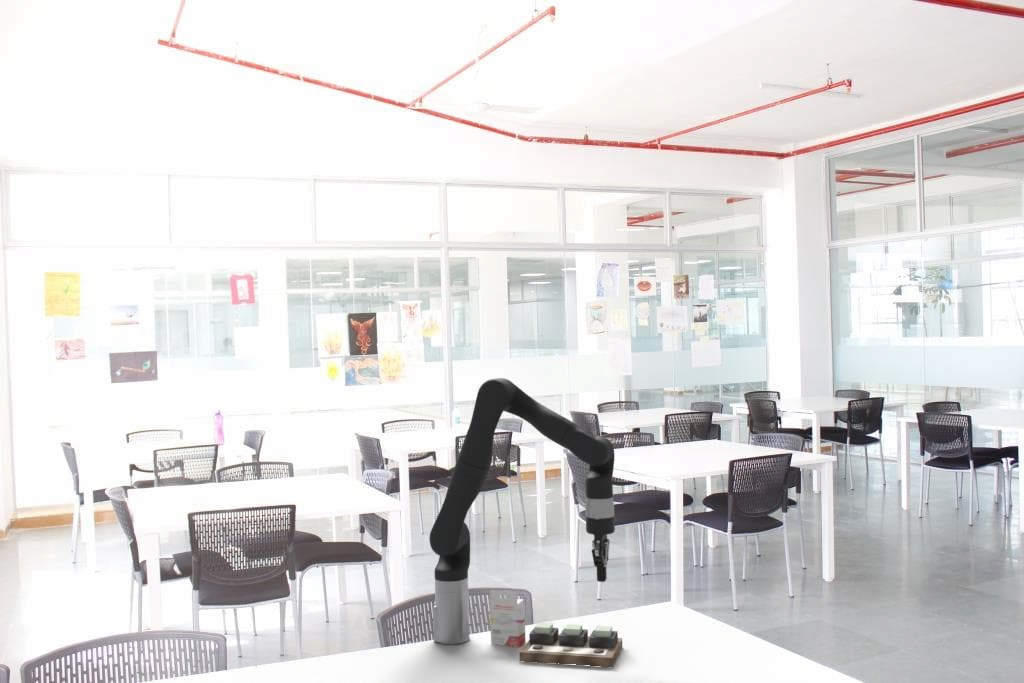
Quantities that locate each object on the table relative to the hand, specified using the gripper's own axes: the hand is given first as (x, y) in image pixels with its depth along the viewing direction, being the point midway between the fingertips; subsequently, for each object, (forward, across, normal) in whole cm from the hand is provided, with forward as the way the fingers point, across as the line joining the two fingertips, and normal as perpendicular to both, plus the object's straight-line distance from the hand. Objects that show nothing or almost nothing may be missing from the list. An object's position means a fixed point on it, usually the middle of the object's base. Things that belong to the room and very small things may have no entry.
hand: (601, 580), depth 244 cm
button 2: (+15, 0, 0) cm, 15 cm away
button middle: (+15, 0, -8) cm, 17 cm away
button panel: (+19, +2, -8) cm, 21 cm away
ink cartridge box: (+19, -4, -27) cm, 33 cm away
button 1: (+15, 0, -16) cm, 22 cm away
